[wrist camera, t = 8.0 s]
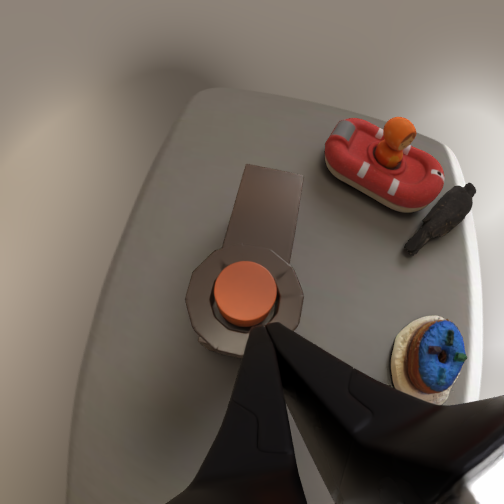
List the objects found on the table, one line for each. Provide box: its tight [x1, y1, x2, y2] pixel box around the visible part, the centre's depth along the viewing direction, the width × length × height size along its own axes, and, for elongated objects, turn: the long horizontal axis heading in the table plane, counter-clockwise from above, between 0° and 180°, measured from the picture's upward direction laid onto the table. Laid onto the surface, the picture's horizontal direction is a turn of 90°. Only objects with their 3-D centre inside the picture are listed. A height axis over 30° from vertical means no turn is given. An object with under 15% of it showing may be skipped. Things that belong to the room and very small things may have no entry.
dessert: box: [391, 316, 467, 405], centre depth 20 cm, size 8×7×6 cm
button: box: [214, 261, 277, 327], centre depth 14 cm, size 3×3×2 cm
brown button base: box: [185, 164, 304, 359], centre depth 19 cm, size 12×6×8 cm, turn 168°
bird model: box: [404, 183, 476, 255], centre depth 25 cm, size 3×14×3 cm, turn 128°
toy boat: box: [325, 117, 444, 213], centre depth 24 cm, size 8×12×8 cm, turn 60°
